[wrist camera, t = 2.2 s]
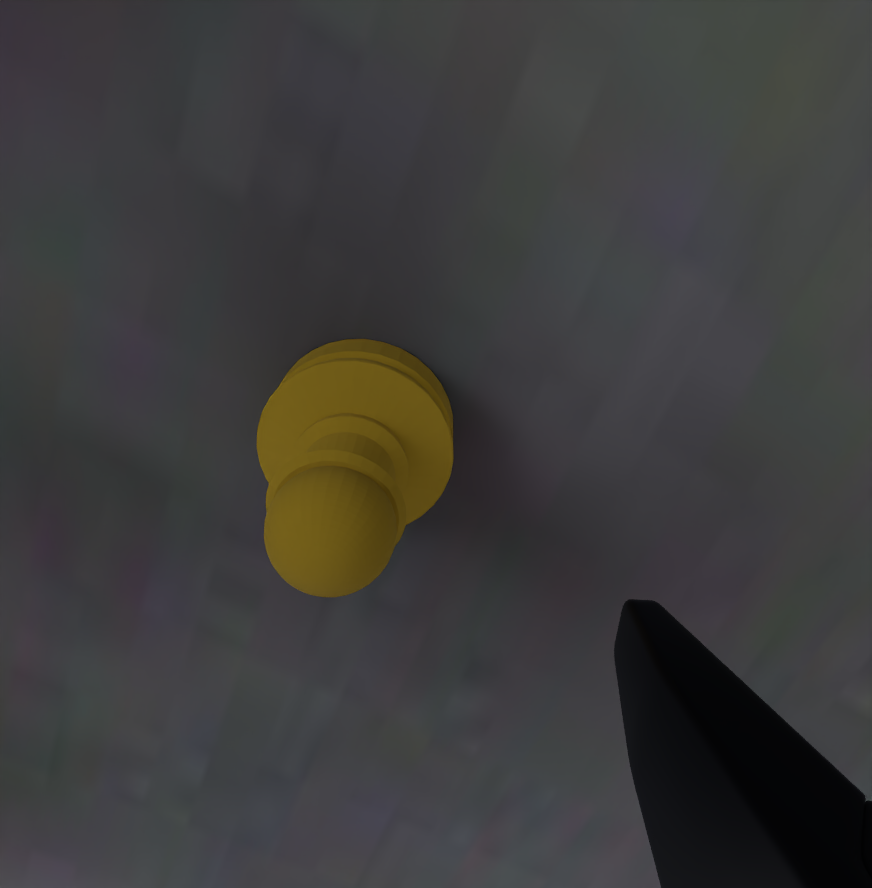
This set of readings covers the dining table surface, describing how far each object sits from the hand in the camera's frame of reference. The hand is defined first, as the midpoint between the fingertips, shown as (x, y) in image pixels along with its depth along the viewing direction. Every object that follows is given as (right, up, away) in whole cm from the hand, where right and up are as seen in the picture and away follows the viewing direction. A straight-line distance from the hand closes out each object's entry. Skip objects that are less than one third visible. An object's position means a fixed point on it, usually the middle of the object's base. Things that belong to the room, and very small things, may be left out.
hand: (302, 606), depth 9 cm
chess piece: (0, +3, +5) cm, 6 cm away
